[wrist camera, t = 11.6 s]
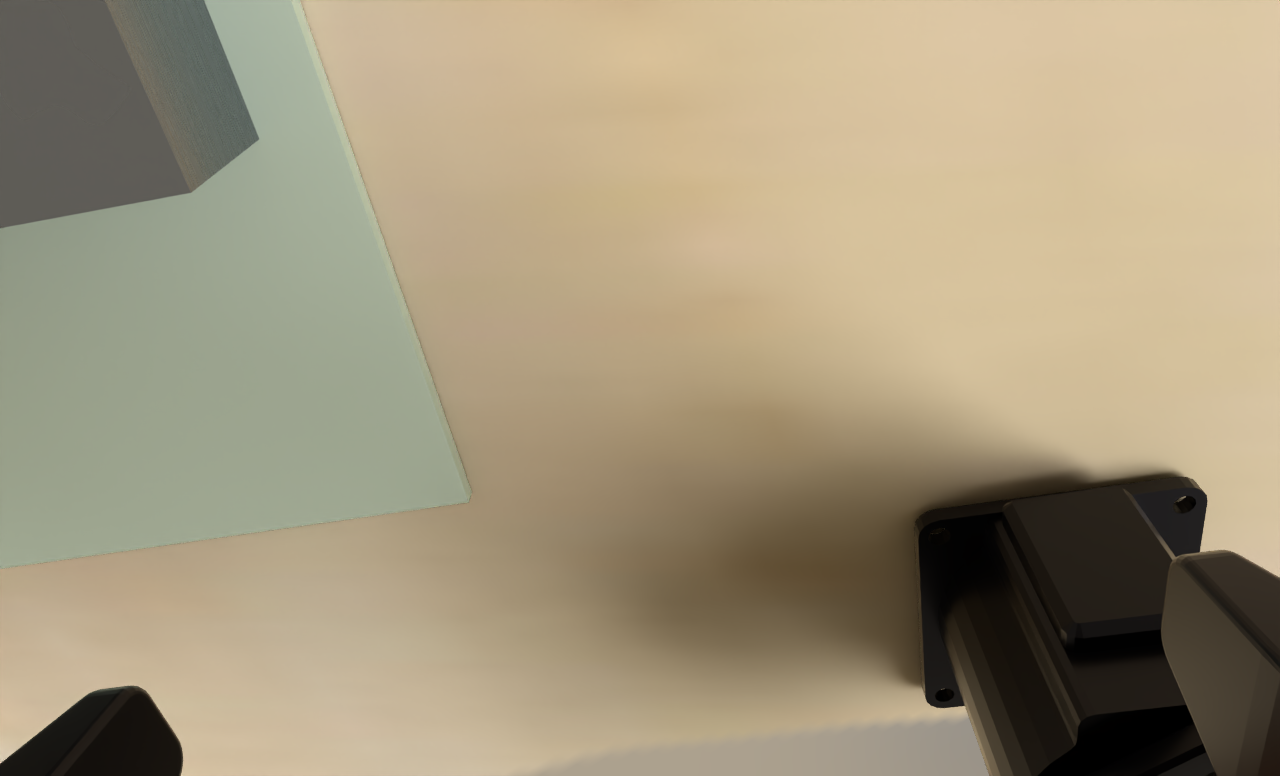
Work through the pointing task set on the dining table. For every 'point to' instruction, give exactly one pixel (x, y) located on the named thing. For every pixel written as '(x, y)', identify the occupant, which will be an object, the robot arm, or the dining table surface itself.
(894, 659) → the dining table surface
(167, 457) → the mat
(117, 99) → the block
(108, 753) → the robot arm
